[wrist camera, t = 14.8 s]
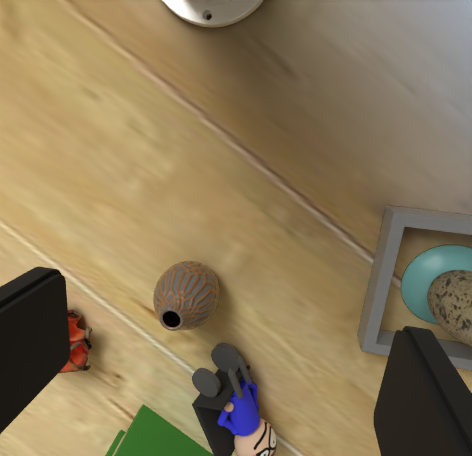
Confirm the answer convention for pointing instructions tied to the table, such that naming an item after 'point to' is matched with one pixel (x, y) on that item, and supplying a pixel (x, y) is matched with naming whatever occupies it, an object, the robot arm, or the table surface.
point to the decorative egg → (453, 303)
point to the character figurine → (231, 407)
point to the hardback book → (154, 438)
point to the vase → (186, 296)
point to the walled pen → (413, 277)
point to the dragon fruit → (77, 345)
